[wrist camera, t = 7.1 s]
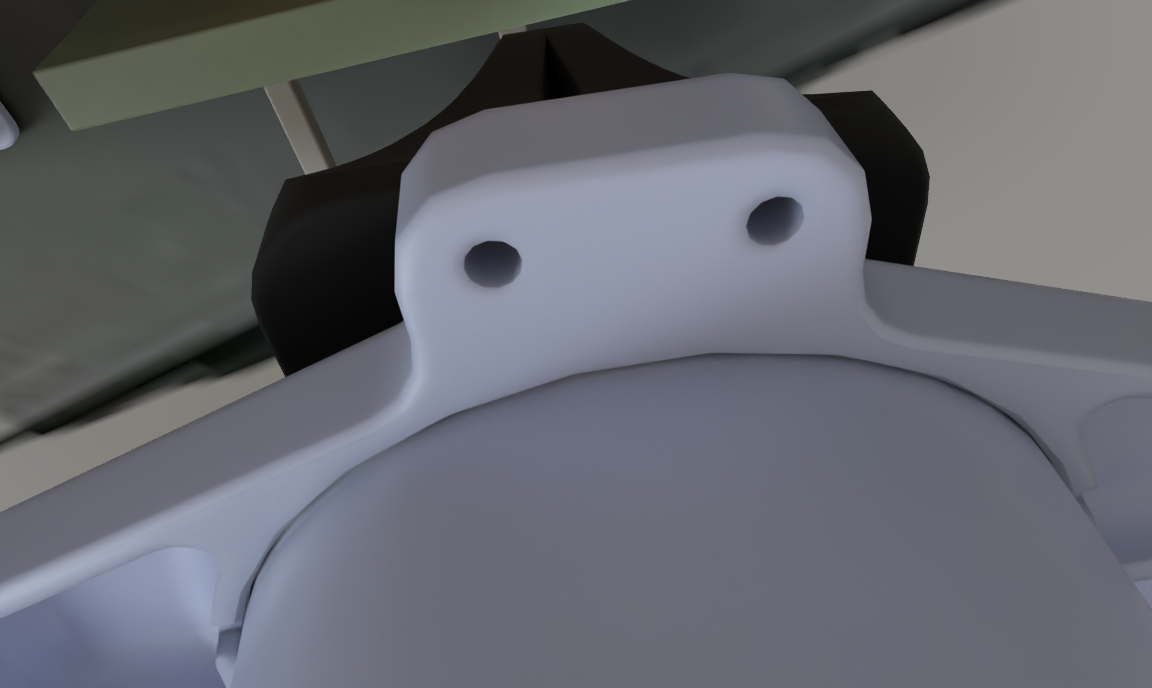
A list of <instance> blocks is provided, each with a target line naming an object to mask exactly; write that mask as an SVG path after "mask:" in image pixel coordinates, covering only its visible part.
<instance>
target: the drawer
mask: <svg viewBox="0 0 1152 688" xmlns="http://www.w3.org/2000/svg"><path fill="white" fill-rule="evenodd" d="M625 1H630V0H98V1H97V2H96V3H95V4H94V5H93V7H92V8H91V9H90V10H89V11H88V12H87V13H86V14H85V15H84V16H83V17H82V18H81V20H80V21H79V22H78V23H77V24H76V25H75V26H74V27H73V28H72V29H71V30H70V32H69V33H68V34H67V35H66V36H65V37H64V38H63V39H62V40H61V41H60V42H59V43H58V45H57V46H56V47H55V48H54V49H53V50H52V51H51V52H50V53H49V54H48V55H47V57H46V58H45V59H44V60H43V61H42V62H41V63H40V64H39V65H38V66H37V67H36V69H35V70H34V71H33V75H34V77H35V78H36V80H37V81H38V82H39V84H40V85H41V87H42V88H43V90H44V91H45V93H46V94H47V96H48V97H49V99H50V100H51V101H52V103H53V104H54V106H55V107H56V109H57V110H58V112H59V113H60V115H61V116H62V118H63V119H64V120H65V122H66V123H67V125H68V126H69V128H70V129H71V130H72V131H79V130H83V129H87V128H91V127H96V126H100V125H104V124H108V123H113V122H117V121H121V120H125V119H129V118H134V117H138V116H142V115H146V114H151V113H155V112H159V111H163V110H168V109H172V108H176V107H180V106H185V105H189V104H193V103H197V102H202V101H206V100H210V99H214V98H218V97H223V96H227V95H231V94H235V93H240V92H244V91H248V90H252V89H257V88H261V87H263V88H264V90H265V92H266V94H267V96H268V98H269V100H270V102H271V104H272V106H273V108H274V111H275V113H276V115H277V117H278V119H279V121H280V123H281V125H282V127H283V129H284V131H285V133H286V135H287V137H288V140H289V142H290V144H291V146H292V148H293V150H294V152H295V154H296V156H297V158H298V160H299V162H300V164H301V166H302V168H303V171H304V173H305V175H307V174H310V173H314V172H318V171H322V170H326V169H329V168H333V167H337V166H336V163H335V161H334V159H333V157H332V155H331V152H330V150H329V148H328V146H327V143H326V141H325V139H324V137H323V135H322V132H321V130H320V128H319V126H318V123H317V121H316V119H315V117H314V114H313V112H312V110H311V108H310V106H309V103H308V101H307V99H306V97H305V94H304V92H303V90H302V88H301V85H300V83H299V81H298V79H299V78H303V77H307V76H312V75H316V74H320V73H324V72H329V71H333V70H337V69H341V68H346V67H350V66H354V65H358V64H363V63H367V62H371V61H375V60H380V59H384V58H388V57H392V56H396V55H401V54H405V53H409V52H413V51H418V50H422V49H426V48H430V47H435V46H439V45H443V44H447V43H452V42H456V41H460V40H464V39H469V38H473V37H477V36H481V35H485V34H490V33H494V32H498V34H499V38H500V39H501V37H502V36H503V35H504V34H511V33H518V32H524V31H528V27H527V25H528V24H532V23H536V22H541V21H545V20H549V19H553V18H558V17H562V16H566V15H570V14H574V13H579V12H583V11H587V10H591V9H596V8H600V7H604V6H608V5H613V4H617V3H621V2H625Z"/></svg>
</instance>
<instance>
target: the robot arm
mask: <svg viewBox="0 0 1152 688" xmlns="http://www.w3.org/2000/svg"><path fill="white" fill-rule="evenodd" d="M18 137H19V128H18V126H17V124H16V122H15V121H14V119H13V118H12V116H11V115H10V114H9V112H8V111H7V110H6V108H5V107H4V106H3V104H2V103H1V101H0V150H2V149H6V148H8V147H10V146H12V145H13V144H14V142H15V141H16V140H17V138H18ZM929 178H930V176H929V172H928V168H927V165H926V161H925V157H924V153H923V150H922V149H921V147H920V146H919V145H918V143H917V142H916V141H915V139H914V138H913V136H912V135H911V134H910V132H909V131H908V130H907V128H906V127H905V126H904V125H903V124H902V123H901V121H900V120H899V119H898V118H897V117H896V116H895V114H894V113H893V112H892V111H891V110H890V109H889V108H888V107H887V106H886V104H885V103H884V102H883V101H882V100H881V99H880V98H879V97H878V96H877V95H876V94H875V93H874V92H873V91H857V92H841V93H827V94H801V93H800V92H799V91H797V90H796V89H795V88H794V87H793V86H792V85H791V84H789V83H788V82H787V81H786V80H785V79H782V78H773V77H764V76H755V75H746V74H737V73H724V74H717V75H711V76H704V77H698V78H688V77H685V76H681V75H678V74H676V73H673V72H670V71H668V70H665V69H663V68H661V67H659V66H657V65H655V64H652V63H650V62H648V61H646V60H644V59H642V58H640V57H638V56H636V55H635V54H633V53H631V52H629V51H627V50H626V49H624V48H622V47H621V46H619V45H617V44H616V43H614V42H613V41H611V40H609V39H608V38H606V37H605V36H603V35H602V34H600V33H599V32H597V31H596V30H594V29H593V28H591V27H590V26H588V25H586V24H584V23H577V24H571V25H564V26H557V27H551V28H544V29H538V30H531V31H524V32H518V33H511V34H504V35H503V36H502V37H501V39H500V40H499V42H498V43H497V44H496V46H495V48H494V49H493V51H492V53H491V54H490V56H489V57H488V59H487V60H486V62H485V63H484V65H483V66H482V68H481V69H480V71H479V72H478V73H477V75H476V76H475V77H474V79H473V80H472V81H471V82H470V83H469V84H468V85H467V87H466V88H465V89H464V90H463V91H462V92H461V93H460V95H459V96H458V97H457V98H456V99H455V100H454V101H453V102H452V103H451V104H450V105H449V106H447V107H446V108H445V109H444V110H443V111H442V112H440V113H439V114H438V115H437V116H435V117H434V118H433V119H432V120H430V121H429V122H428V123H426V124H425V125H423V126H422V127H420V128H419V129H417V130H415V131H414V132H412V133H410V134H408V135H407V136H405V137H403V138H402V139H400V140H398V141H397V142H395V143H393V144H391V145H389V146H387V147H385V148H383V149H381V150H379V151H377V152H374V153H372V154H370V155H367V156H365V157H362V158H359V159H357V160H354V161H352V162H349V163H346V164H343V165H340V166H337V167H333V168H329V169H326V170H322V171H318V172H314V173H310V174H307V175H303V176H299V177H295V178H290V179H286V180H285V182H284V184H283V186H282V189H281V191H280V193H279V195H278V198H277V200H276V202H275V204H274V206H273V209H272V212H271V215H270V217H269V220H268V223H267V226H266V229H265V232H264V236H263V239H262V242H261V246H260V249H259V252H258V255H257V259H256V262H255V265H254V269H253V272H252V297H251V300H252V303H253V306H254V309H255V313H256V316H257V319H258V322H259V325H260V328H261V330H262V332H263V333H264V335H265V337H266V339H267V341H268V343H269V345H270V347H271V349H272V351H273V353H274V355H275V357H276V359H277V361H278V363H279V365H280V367H281V369H282V371H283V373H284V375H285V378H283V379H281V380H279V381H277V382H275V383H272V384H270V385H268V386H266V387H264V388H262V389H260V390H258V391H256V392H254V393H251V394H249V395H247V396H245V397H243V398H241V399H239V400H237V401H235V402H233V403H230V404H228V405H226V406H224V407H222V408H220V409H218V410H216V411H213V412H211V413H209V414H207V415H205V416H203V417H201V418H199V419H196V420H194V421H192V422H190V423H188V424H186V425H184V426H182V427H180V428H177V429H175V430H173V431H171V432H169V433H167V434H165V435H163V436H161V437H159V438H157V439H154V440H152V441H150V442H148V443H146V444H144V445H142V446H140V447H137V448H135V449H133V450H131V451H129V452H127V453H125V454H123V455H121V456H118V457H116V458H114V459H112V460H110V461H108V462H106V463H104V464H102V465H100V466H97V467H95V468H93V469H91V470H89V471H87V472H85V473H82V474H80V475H79V476H77V477H74V478H72V479H70V480H68V481H66V482H63V483H61V484H59V485H57V486H55V487H53V488H51V489H49V490H47V491H44V492H42V493H40V494H38V495H36V496H34V497H32V498H29V499H28V500H25V501H23V502H21V503H19V504H17V505H15V506H13V507H10V508H8V509H6V510H4V511H2V512H0V688H1152V302H1147V301H1141V300H1135V299H1128V298H1121V297H1115V296H1108V295H1101V294H1095V293H1088V292H1082V291H1074V290H1068V289H1061V288H1055V287H1048V286H1042V285H1035V284H1029V283H1022V282H1015V281H1008V280H1001V279H995V278H989V277H982V276H975V275H968V274H962V273H955V272H949V271H942V270H935V269H928V268H922V267H915V266H914V262H915V257H916V253H917V248H918V244H919V239H920V235H921V231H922V227H923V222H924V218H925V213H926V209H927V204H928V190H929Z"/></svg>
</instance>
